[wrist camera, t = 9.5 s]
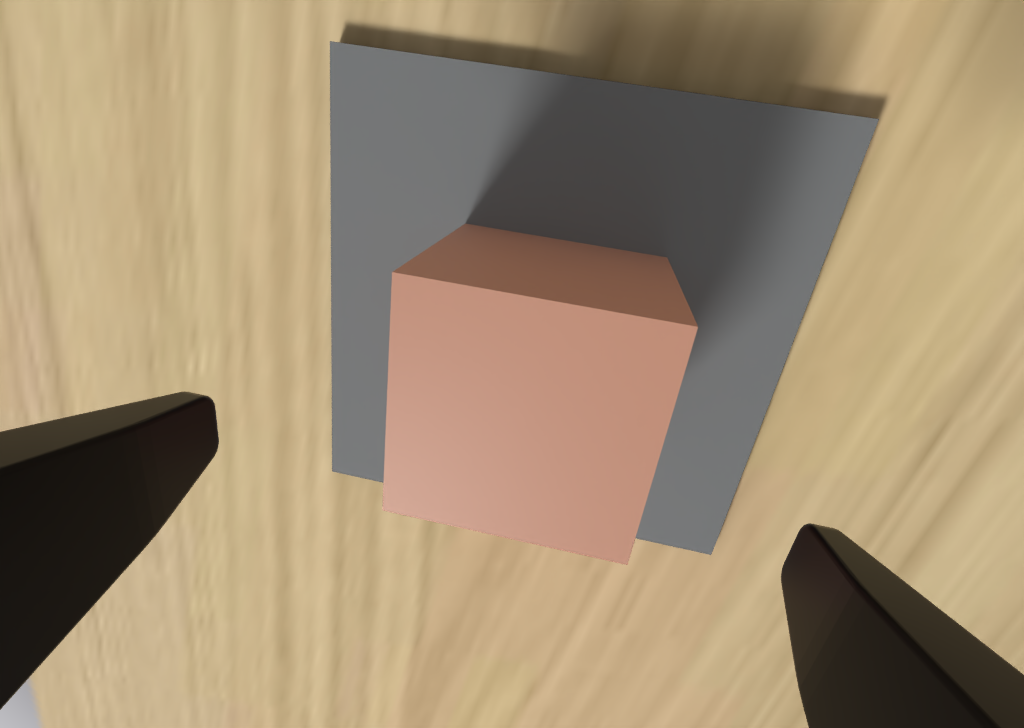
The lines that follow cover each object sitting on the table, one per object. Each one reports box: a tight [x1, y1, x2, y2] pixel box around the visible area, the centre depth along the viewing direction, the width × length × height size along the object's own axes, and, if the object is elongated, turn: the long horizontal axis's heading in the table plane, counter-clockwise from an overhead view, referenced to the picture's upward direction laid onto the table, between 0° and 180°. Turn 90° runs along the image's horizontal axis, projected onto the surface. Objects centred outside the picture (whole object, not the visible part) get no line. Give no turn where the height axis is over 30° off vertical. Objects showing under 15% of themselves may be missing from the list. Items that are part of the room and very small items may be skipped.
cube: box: [382, 224, 698, 565], centre depth 12 cm, size 5×5×5 cm
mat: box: [330, 41, 879, 555], centre depth 14 cm, size 12×12×1 cm
